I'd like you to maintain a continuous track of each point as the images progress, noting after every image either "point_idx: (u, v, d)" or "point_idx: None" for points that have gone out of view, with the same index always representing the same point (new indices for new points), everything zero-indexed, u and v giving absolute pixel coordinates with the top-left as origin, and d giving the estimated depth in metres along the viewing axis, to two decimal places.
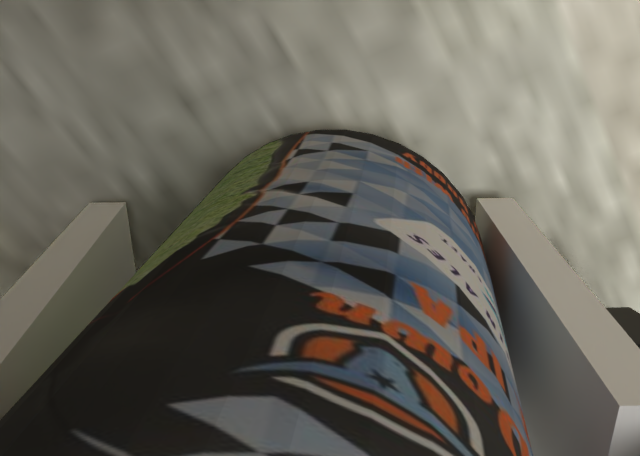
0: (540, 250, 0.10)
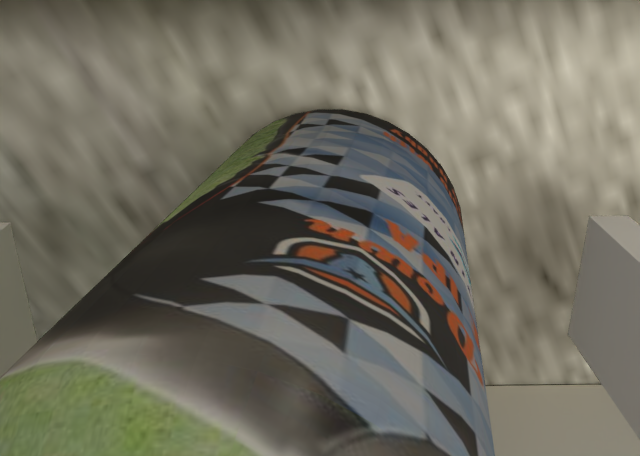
0: None
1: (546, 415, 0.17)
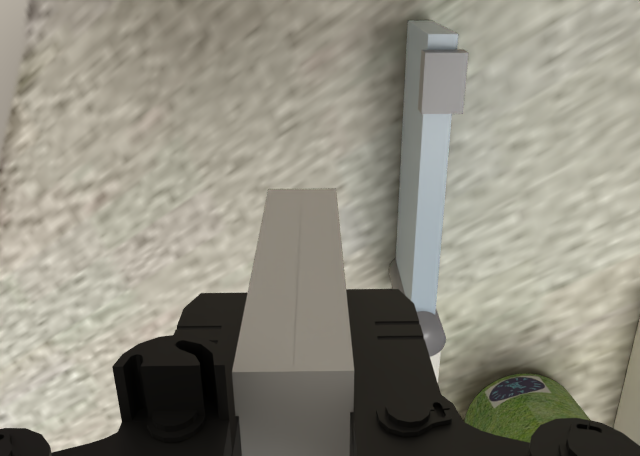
0: (325, 236, 0.11)
1: None
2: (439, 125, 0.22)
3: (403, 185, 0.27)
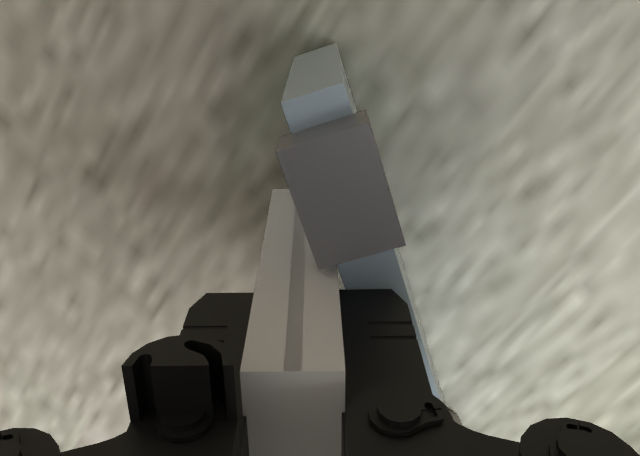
0: None
1: None
2: (374, 265, 0.10)
3: None
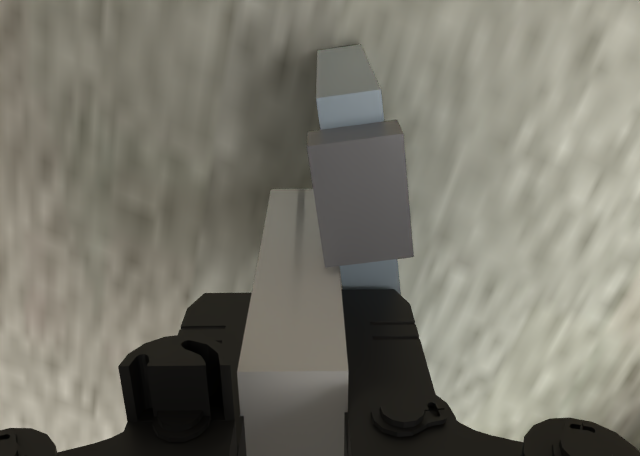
0: None
1: None
2: (375, 270, 0.11)
3: None
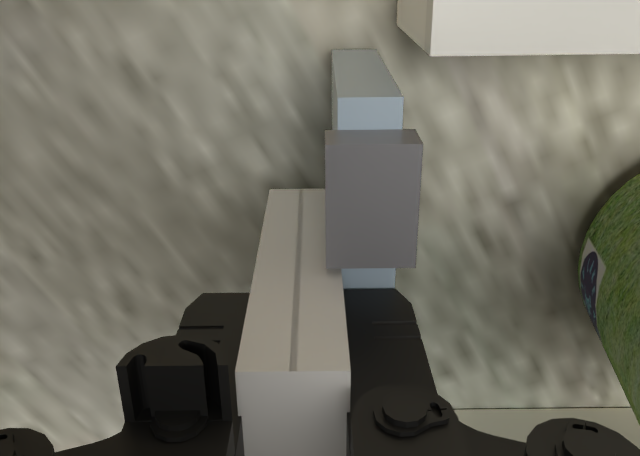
0: (323, 236, 0.11)
1: None
2: (372, 277, 0.11)
3: None
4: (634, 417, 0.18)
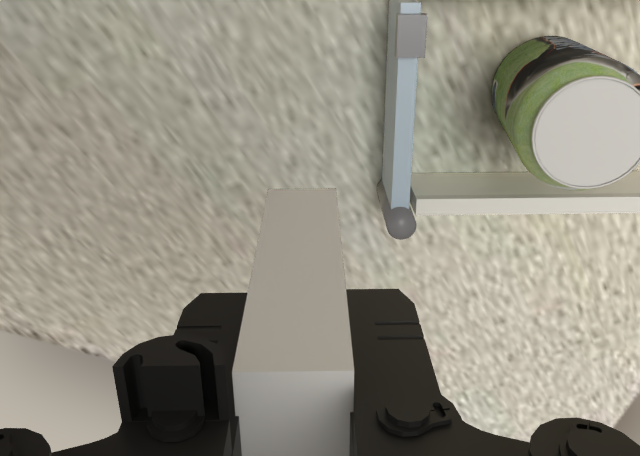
0: (325, 235, 0.11)
1: (627, 177, 0.38)
2: (409, 67, 0.31)
3: (386, 119, 0.36)
4: (522, 174, 0.39)
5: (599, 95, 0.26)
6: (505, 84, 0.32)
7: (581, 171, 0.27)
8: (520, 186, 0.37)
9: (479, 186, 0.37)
